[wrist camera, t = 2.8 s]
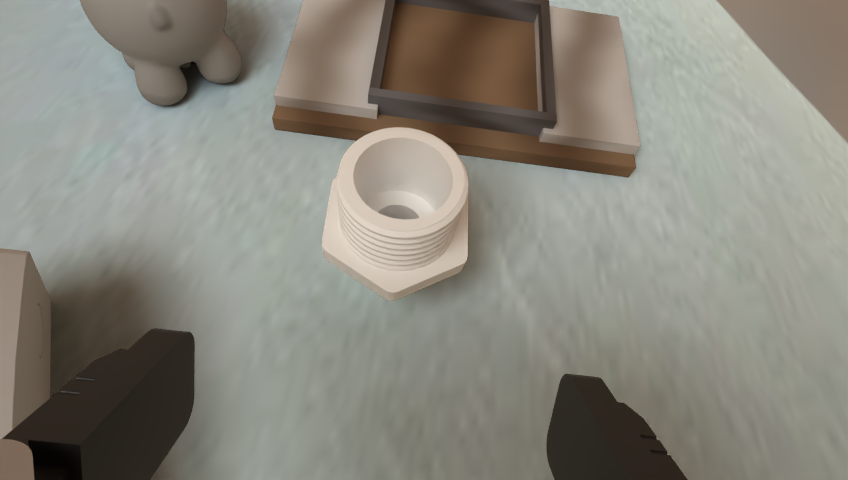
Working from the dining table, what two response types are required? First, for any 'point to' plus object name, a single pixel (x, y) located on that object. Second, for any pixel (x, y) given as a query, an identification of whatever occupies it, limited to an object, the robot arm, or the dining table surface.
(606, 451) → the robot arm
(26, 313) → the white striped curved block
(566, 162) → the base
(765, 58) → the dining table surface
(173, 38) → the chubby cartoon animal
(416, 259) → the pipe fitting
